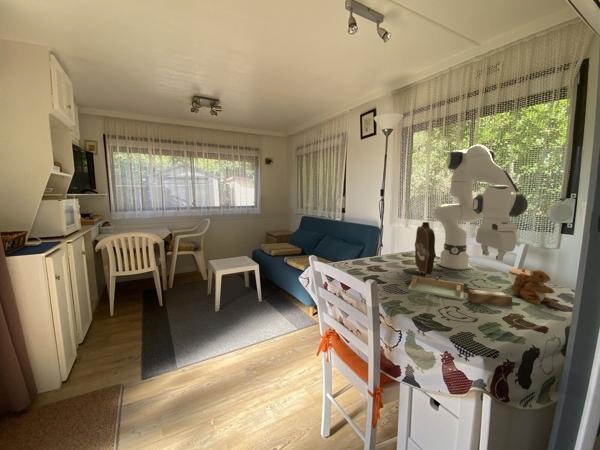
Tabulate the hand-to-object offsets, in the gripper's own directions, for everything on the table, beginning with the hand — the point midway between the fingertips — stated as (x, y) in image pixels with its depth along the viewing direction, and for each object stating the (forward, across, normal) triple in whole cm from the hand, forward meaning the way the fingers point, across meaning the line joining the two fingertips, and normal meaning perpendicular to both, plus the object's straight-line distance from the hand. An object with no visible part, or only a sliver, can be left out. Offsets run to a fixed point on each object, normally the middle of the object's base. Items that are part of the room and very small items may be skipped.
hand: (492, 257), depth 103 cm
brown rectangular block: (+19, 0, 0) cm, 19 cm away
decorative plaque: (+18, -32, -16) cm, 40 cm away
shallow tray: (+19, -9, -18) cm, 27 cm away
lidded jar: (+19, -20, +26) cm, 38 cm away
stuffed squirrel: (+19, -7, +20) cm, 28 cm away
